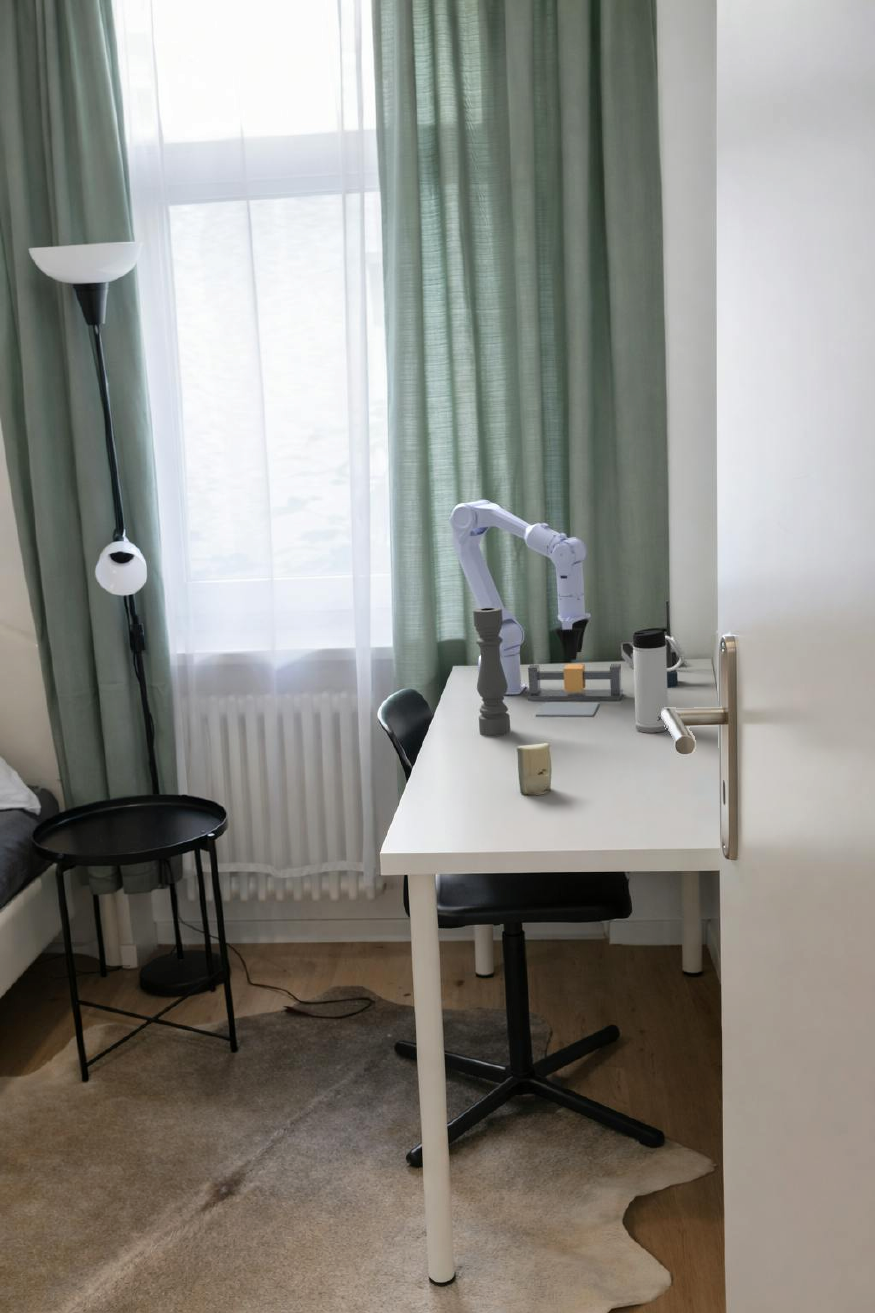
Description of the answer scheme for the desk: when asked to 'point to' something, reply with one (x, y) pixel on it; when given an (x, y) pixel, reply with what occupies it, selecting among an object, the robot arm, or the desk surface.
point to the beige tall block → (534, 769)
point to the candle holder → (491, 673)
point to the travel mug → (650, 679)
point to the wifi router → (670, 653)
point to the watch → (671, 672)
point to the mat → (567, 709)
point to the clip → (574, 678)
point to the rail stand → (586, 695)
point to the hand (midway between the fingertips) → (573, 655)
